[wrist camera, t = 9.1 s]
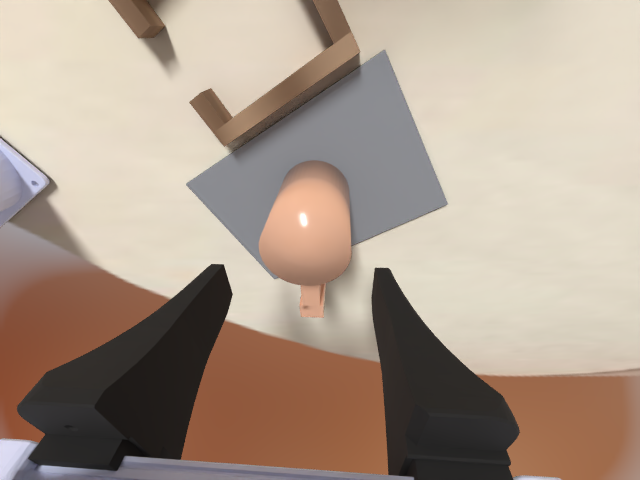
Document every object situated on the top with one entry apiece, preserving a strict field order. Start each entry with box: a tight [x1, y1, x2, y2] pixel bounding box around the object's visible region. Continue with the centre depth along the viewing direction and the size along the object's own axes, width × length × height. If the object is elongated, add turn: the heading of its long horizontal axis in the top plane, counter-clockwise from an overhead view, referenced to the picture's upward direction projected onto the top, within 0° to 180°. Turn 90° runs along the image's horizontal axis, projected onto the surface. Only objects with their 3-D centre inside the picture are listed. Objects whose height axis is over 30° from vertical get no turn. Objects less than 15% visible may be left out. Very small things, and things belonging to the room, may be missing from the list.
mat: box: [186, 50, 448, 279], centre depth 21 cm, size 16×11×1 cm
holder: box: [109, 0, 360, 146], centre depth 15 cm, size 10×10×2 cm
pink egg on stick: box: [259, 160, 351, 318], centre depth 19 cm, size 9×5×7 cm, turn 2°
